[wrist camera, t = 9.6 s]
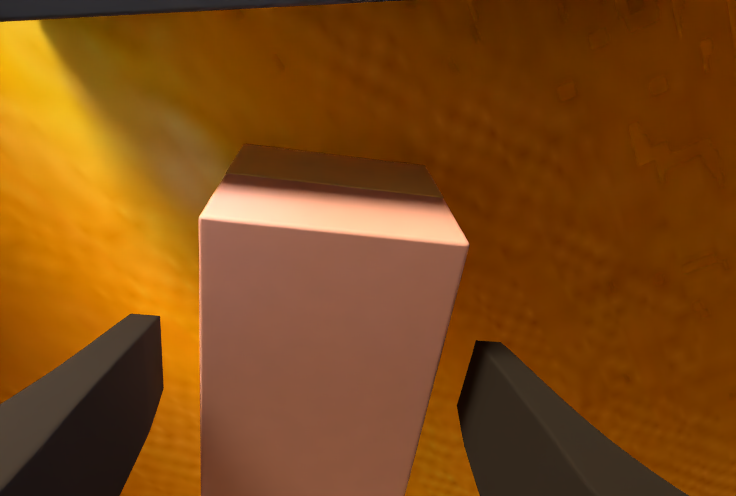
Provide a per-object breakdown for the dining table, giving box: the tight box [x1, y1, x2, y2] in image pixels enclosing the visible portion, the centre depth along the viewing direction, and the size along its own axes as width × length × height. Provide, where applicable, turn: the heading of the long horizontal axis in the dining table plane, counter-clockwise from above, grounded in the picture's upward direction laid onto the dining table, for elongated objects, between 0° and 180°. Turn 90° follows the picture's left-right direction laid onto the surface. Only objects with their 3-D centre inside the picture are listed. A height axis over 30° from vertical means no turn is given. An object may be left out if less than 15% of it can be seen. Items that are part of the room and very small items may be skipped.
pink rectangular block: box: [199, 144, 469, 496], centre depth 13 cm, size 5×8×5 cm, turn 172°
